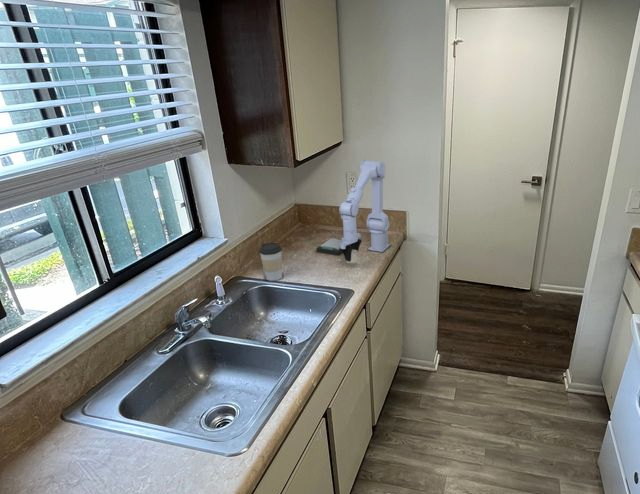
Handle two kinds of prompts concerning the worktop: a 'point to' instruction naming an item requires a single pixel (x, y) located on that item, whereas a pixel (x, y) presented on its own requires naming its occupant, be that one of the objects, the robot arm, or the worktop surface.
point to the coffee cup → (271, 260)
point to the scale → (331, 247)
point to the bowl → (353, 256)
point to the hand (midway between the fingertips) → (351, 258)
